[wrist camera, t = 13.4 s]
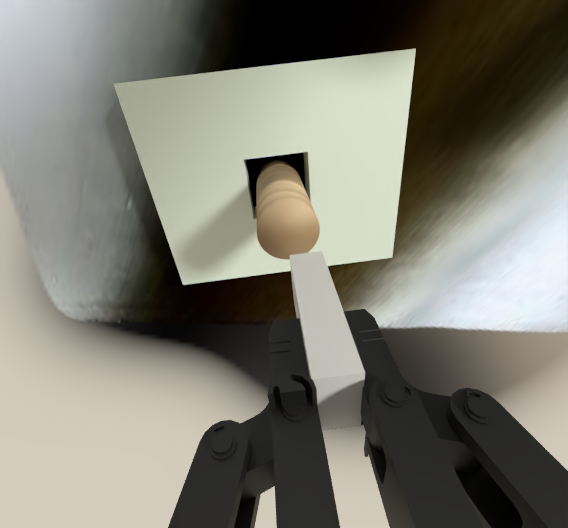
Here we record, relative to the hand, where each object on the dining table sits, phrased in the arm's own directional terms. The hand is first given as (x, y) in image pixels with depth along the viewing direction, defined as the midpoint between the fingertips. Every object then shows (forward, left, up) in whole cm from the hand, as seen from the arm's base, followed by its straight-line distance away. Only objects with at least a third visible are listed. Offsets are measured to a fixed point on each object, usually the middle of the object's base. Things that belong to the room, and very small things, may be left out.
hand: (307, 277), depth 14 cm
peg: (0, 0, -17) cm, 17 cm away
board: (0, 0, -17) cm, 17 cm away
